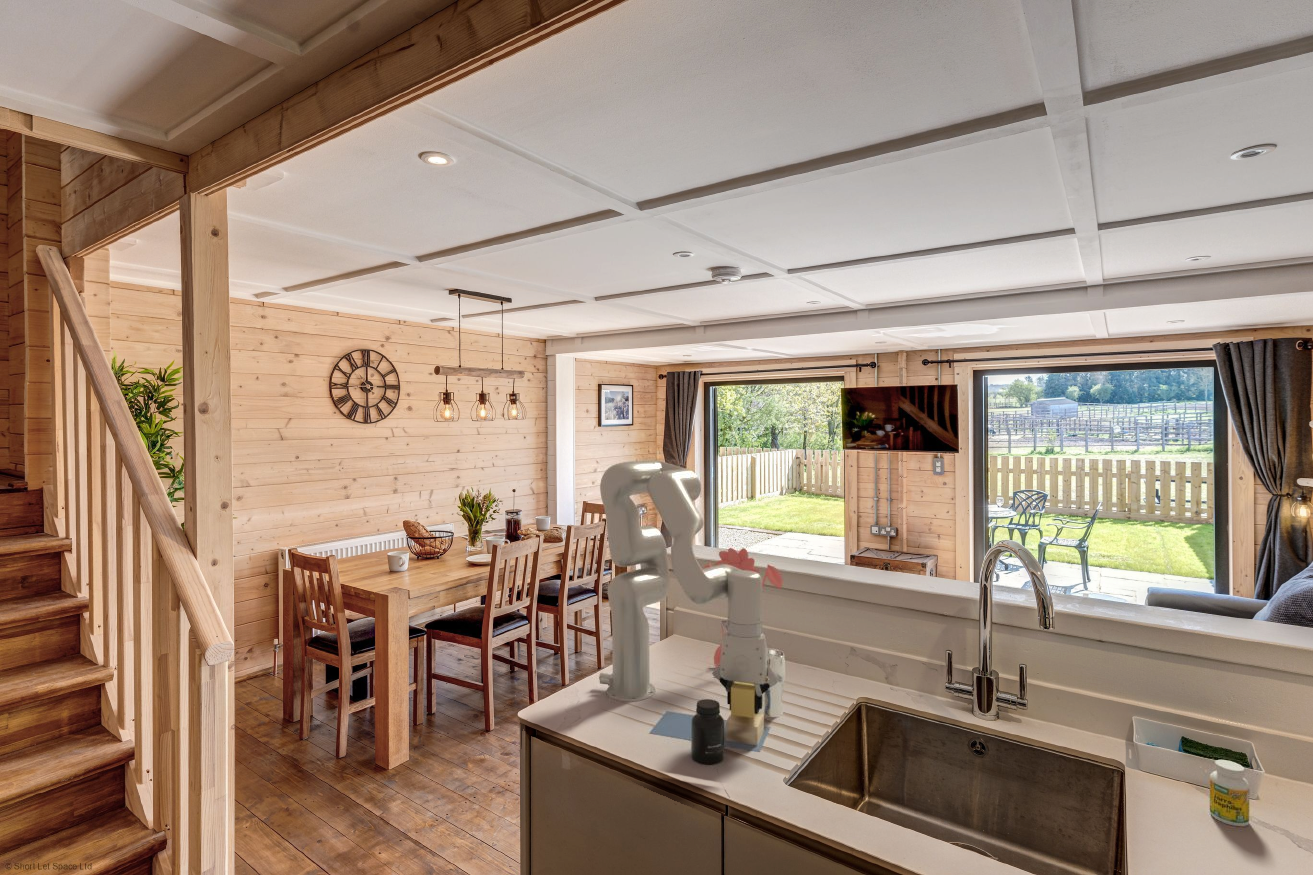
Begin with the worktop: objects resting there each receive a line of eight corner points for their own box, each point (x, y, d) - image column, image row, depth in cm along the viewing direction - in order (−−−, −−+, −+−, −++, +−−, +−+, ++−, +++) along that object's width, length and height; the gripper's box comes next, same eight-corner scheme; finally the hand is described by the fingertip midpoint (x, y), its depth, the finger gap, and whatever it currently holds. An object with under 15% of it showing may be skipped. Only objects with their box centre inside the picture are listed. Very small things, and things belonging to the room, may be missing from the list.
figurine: (700, 656, 201) (699, 539, 199) (787, 669, 191) (787, 546, 189) (682, 675, 187) (681, 550, 185) (774, 690, 177) (774, 558, 175)
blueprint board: (648, 736, 151) (648, 733, 151) (666, 714, 163) (666, 710, 163) (759, 755, 143) (759, 751, 143) (770, 730, 154) (770, 727, 154)
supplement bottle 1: (714, 772, 136) (714, 713, 136) (685, 763, 140) (685, 705, 139) (729, 757, 142) (729, 701, 142) (701, 749, 146) (700, 694, 145)
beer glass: (785, 722, 158) (785, 659, 157) (754, 720, 159) (754, 657, 159) (785, 709, 165) (785, 648, 164) (756, 707, 166) (756, 647, 166)
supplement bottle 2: (1250, 818, 120) (1251, 764, 119) (1247, 831, 116) (1249, 776, 116) (1211, 805, 124) (1212, 754, 123) (1207, 818, 120) (1208, 765, 119)
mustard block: (730, 714, 148) (730, 687, 148) (736, 705, 153) (736, 678, 153) (753, 717, 146) (753, 690, 146) (758, 708, 151) (758, 681, 151)
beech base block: (725, 740, 148) (725, 722, 148) (733, 726, 154) (733, 709, 154) (757, 745, 145) (757, 727, 145) (763, 731, 152) (763, 713, 152)
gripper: (702, 629, 148) (703, 710, 149) (780, 637, 143) (780, 722, 143) (712, 619, 155) (712, 697, 156) (786, 626, 150) (786, 708, 150)
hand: (744, 708), depth 150 cm, fingers closed on mustard block, 4 cm apart
